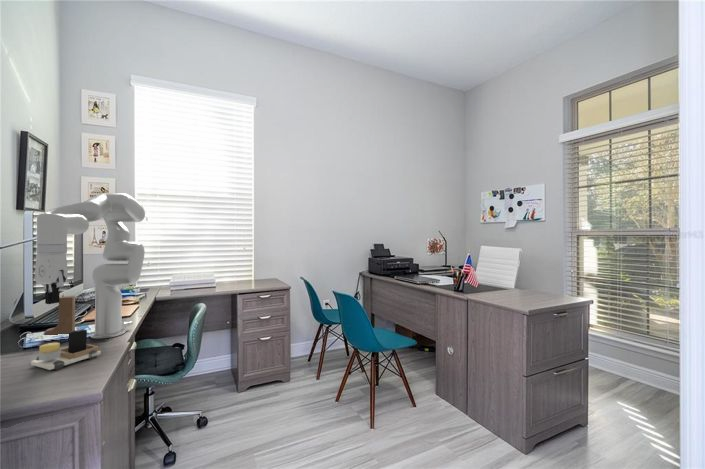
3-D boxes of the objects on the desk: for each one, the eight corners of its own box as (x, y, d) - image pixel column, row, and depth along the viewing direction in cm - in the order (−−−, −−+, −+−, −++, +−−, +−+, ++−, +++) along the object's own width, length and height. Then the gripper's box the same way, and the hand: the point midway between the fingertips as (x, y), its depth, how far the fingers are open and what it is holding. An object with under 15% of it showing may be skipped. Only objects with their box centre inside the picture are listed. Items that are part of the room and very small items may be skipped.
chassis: (82, 352, 122) (82, 338, 122) (100, 356, 118) (100, 342, 118) (30, 367, 108) (31, 352, 108) (49, 372, 104) (50, 357, 104)
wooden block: (43, 342, 132) (44, 298, 132) (47, 339, 136) (48, 297, 136) (71, 339, 136) (72, 297, 136) (75, 336, 140) (75, 295, 140)
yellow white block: (54, 354, 111) (54, 341, 111) (63, 356, 109) (63, 343, 109) (36, 359, 107) (36, 346, 107) (44, 362, 105) (44, 348, 105)
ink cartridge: (86, 350, 118) (87, 328, 118) (86, 352, 116) (87, 330, 116) (68, 353, 115) (69, 330, 115) (68, 355, 113) (68, 332, 113)
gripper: (25, 249, 108) (25, 303, 108) (51, 251, 103) (51, 307, 103) (52, 248, 115) (53, 299, 115) (78, 249, 110) (78, 302, 110)
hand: (52, 303), depth 109 cm, fingers closed
